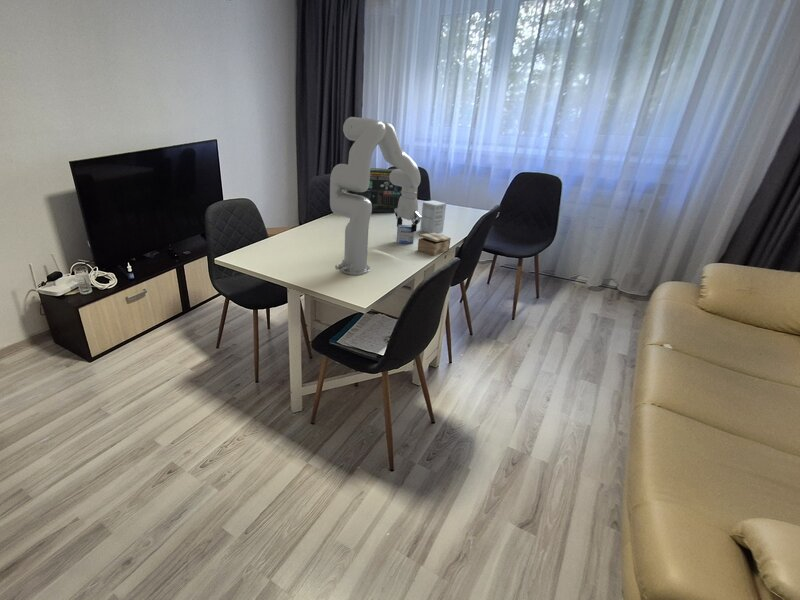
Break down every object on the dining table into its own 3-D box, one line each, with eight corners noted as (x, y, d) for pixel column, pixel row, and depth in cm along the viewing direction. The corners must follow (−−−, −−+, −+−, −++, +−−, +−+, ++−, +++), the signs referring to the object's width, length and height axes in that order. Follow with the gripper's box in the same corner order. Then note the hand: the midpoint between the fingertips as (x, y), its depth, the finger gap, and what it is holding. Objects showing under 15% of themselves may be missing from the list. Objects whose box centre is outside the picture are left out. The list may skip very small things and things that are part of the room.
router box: (399, 210, 268) (403, 169, 256) (402, 214, 258) (406, 172, 247) (346, 207, 262) (347, 165, 250) (347, 212, 252) (348, 168, 241)
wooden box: (433, 256, 192) (434, 244, 189) (417, 250, 198) (418, 238, 195) (448, 251, 200) (450, 240, 198) (433, 245, 206) (434, 234, 204)
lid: (435, 241, 189) (435, 239, 189) (419, 236, 195) (419, 234, 194) (450, 239, 198) (450, 237, 197) (434, 234, 203) (434, 232, 203)
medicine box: (398, 243, 205) (399, 226, 201) (396, 240, 209) (397, 224, 205) (413, 243, 207) (415, 226, 203) (410, 240, 211) (412, 224, 207)
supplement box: (443, 233, 227) (447, 203, 219) (432, 236, 220) (436, 205, 213) (429, 229, 232) (433, 199, 225) (419, 232, 226) (422, 201, 219)
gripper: (390, 192, 200) (388, 226, 208) (417, 199, 190) (414, 235, 198) (401, 190, 205) (398, 223, 213) (427, 197, 195) (424, 232, 203)
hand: (406, 229), depth 205 cm, fingers open, 9 cm apart
